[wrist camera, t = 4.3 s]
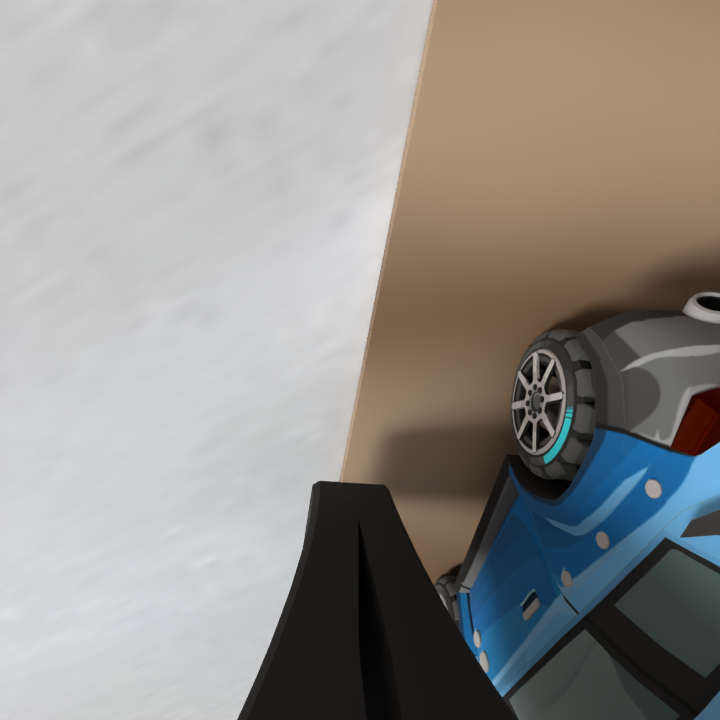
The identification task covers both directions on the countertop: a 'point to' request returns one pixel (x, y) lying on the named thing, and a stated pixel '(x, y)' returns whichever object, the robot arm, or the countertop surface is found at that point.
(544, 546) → the toy car
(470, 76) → the board
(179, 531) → the countertop surface
